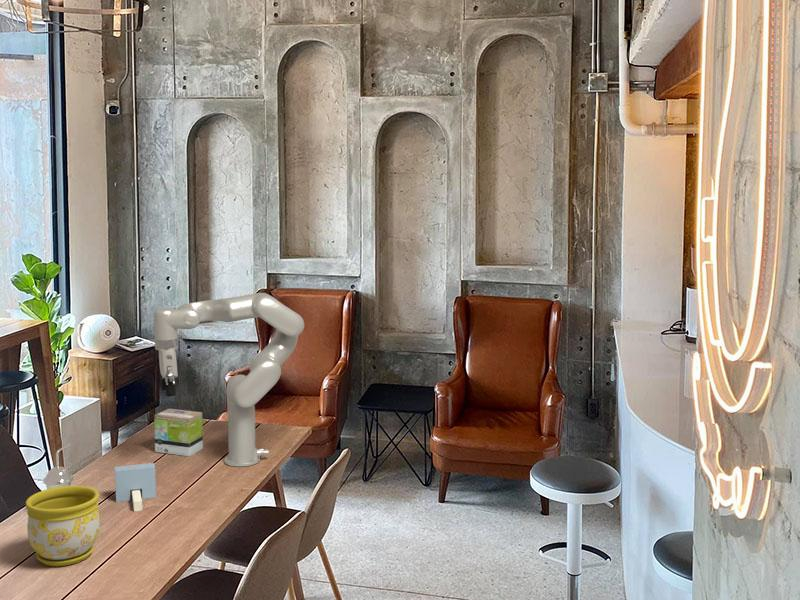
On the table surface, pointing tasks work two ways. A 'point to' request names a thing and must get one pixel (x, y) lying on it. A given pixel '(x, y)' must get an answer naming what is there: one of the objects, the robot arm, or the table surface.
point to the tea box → (178, 432)
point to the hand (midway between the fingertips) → (168, 392)
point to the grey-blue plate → (135, 481)
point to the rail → (136, 500)
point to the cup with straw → (58, 474)
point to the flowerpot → (63, 524)
